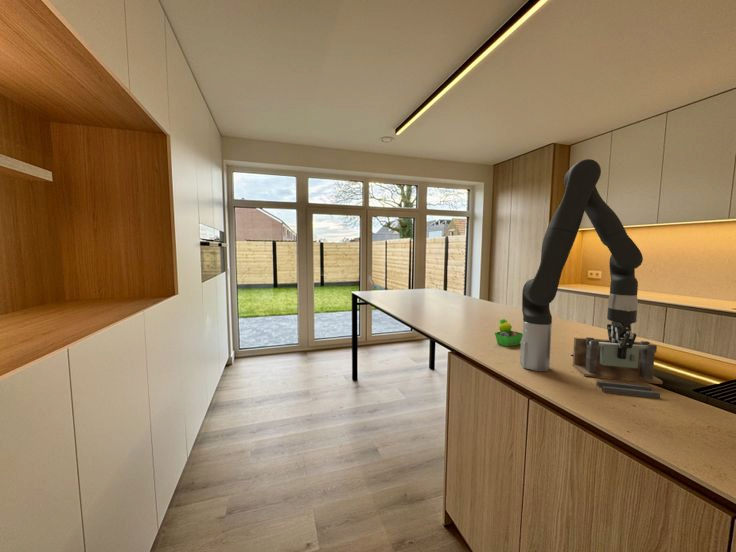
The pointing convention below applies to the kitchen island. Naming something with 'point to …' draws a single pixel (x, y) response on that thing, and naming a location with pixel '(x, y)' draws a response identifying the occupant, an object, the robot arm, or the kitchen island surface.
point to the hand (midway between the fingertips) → (618, 356)
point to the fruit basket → (507, 334)
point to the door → (611, 350)
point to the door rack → (628, 389)
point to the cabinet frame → (589, 365)
